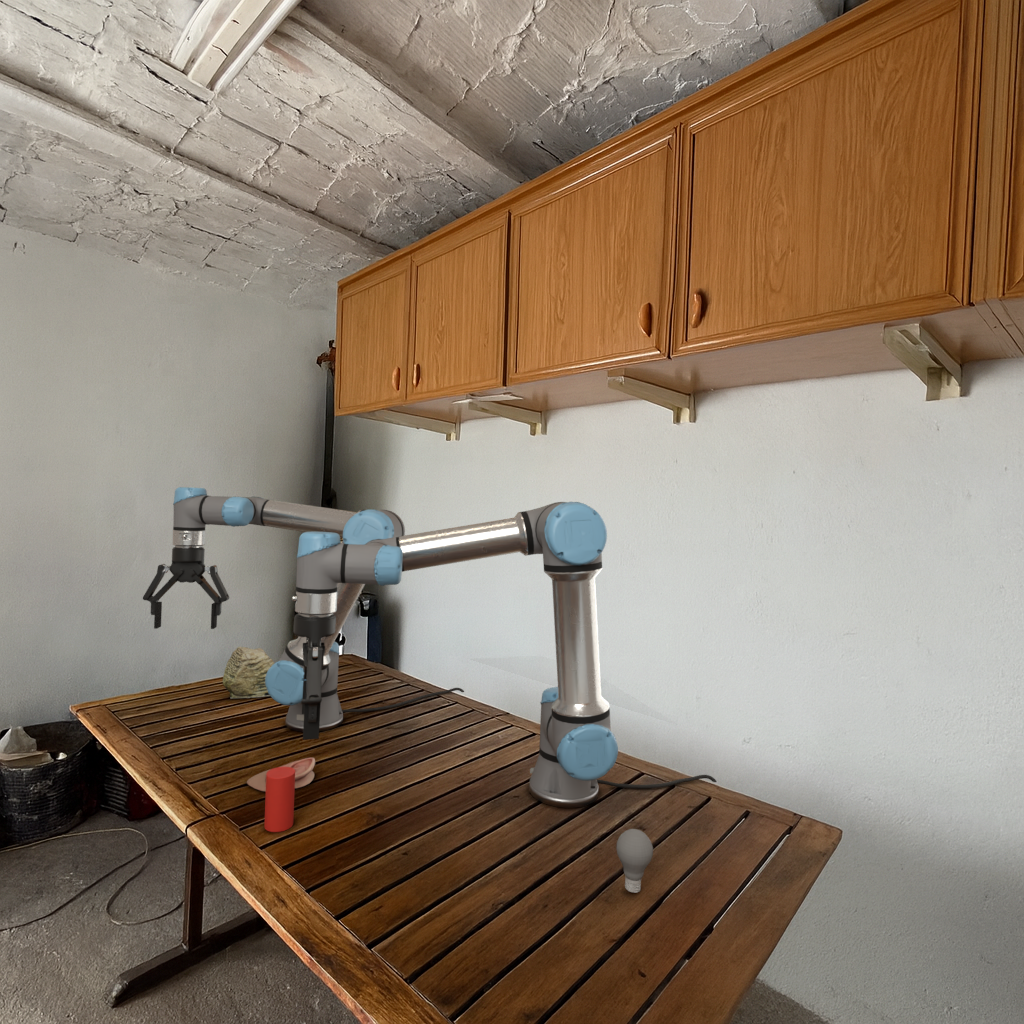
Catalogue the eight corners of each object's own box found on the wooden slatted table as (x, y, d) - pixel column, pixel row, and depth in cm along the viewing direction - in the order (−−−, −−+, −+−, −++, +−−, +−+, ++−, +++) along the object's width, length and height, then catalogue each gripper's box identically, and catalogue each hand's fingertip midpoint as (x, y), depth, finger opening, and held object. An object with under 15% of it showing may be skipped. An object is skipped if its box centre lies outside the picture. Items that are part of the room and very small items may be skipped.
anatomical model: (238, 769, 136) (269, 749, 147) (238, 787, 136) (269, 766, 147) (295, 777, 133) (322, 756, 144) (294, 796, 133) (321, 773, 144)
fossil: (218, 695, 195) (220, 647, 195) (278, 685, 208) (279, 640, 207) (228, 703, 189) (230, 653, 188) (289, 692, 201) (290, 645, 201)
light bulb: (610, 879, 108) (613, 822, 108) (644, 879, 109) (647, 822, 109) (619, 902, 102) (622, 840, 102) (655, 901, 103) (658, 840, 103)
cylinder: (283, 834, 119) (285, 779, 118) (258, 829, 120) (260, 775, 120) (298, 820, 124) (300, 768, 123) (274, 816, 125) (276, 764, 125)
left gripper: (130, 546, 159) (127, 630, 159) (236, 549, 163) (233, 630, 164) (142, 543, 166) (139, 624, 166) (242, 546, 171) (240, 625, 171)
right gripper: (294, 602, 130) (289, 704, 130) (294, 627, 107) (288, 752, 107) (332, 602, 133) (326, 703, 133) (340, 626, 109) (334, 749, 109)
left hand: (185, 627), depth 165 cm, fingers open, 13 cm apart
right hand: (309, 725), depth 120 cm, fingers open, 13 cm apart
